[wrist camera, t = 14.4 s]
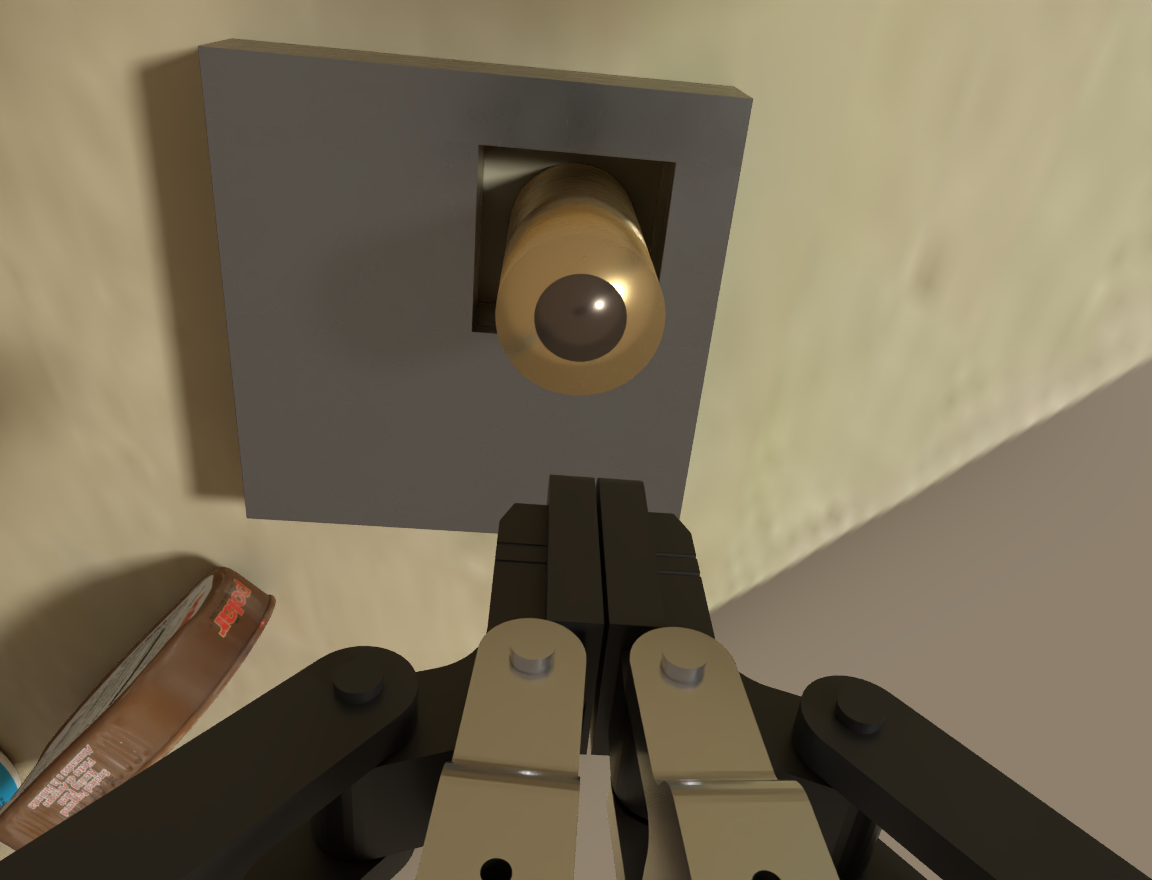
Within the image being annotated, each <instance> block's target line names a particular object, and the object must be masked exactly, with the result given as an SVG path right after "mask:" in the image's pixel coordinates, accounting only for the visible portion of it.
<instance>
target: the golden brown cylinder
mask: <svg viewBox="0 0 1152 880" xmlns="http://www.w3.org/2000/svg"><path fill="white" fill-rule="evenodd" d="M665 316H666V313H665V302H664V297H663V293H662V290H661V287H660V284H659V281H658V278H657V275H656V272H655V269H654V267H653V264H652V261H651V258H650V255H649V252H648V249H647V246H646V243H645V240H644V237H643V234H642V231H641V229H640V226H639V223H638V220H637V217H636V214H635V211H634V208H633V205H632V202H631V200H630V198H629V196H628V194H627V193H626V191H625V190H624V188H623V187H622V186H621V185H620V183H619V182H618V181H617V180H616V179H614V178H613V177H612V176H611V175H609V174H608V173H606V172H605V171H603V170H601V169H599V168H596V167H593V166H590V165H586V164H580V163H567V164H560V165H556V166H553V167H550V168H548V169H546V170H544V171H542V172H540V173H538V174H537V175H536V176H534V177H533V178H532V179H531V180H530V181H529V182H528V183H527V184H526V185H525V186H524V187H523V189H522V190H521V191H520V193H519V195H518V197H517V198H516V201H515V203H514V206H513V209H512V213H511V218H510V224H509V230H508V236H507V242H506V248H505V254H504V260H503V266H502V272H501V278H500V284H499V290H498V296H497V303H496V311H495V320H496V329H497V334H498V337H499V341H500V344H501V346H502V348H503V350H504V352H505V354H506V356H507V357H508V359H509V360H510V362H511V363H512V364H513V365H514V367H515V368H516V369H517V370H518V371H519V372H520V373H521V374H522V375H523V376H524V377H526V378H527V379H529V380H530V381H531V382H533V383H535V384H537V385H538V386H540V387H542V388H545V389H547V390H550V391H552V392H556V393H560V394H565V395H573V396H585V395H594V394H599V393H603V392H606V391H609V390H612V389H615V388H617V387H619V386H621V385H623V384H625V383H626V382H628V381H629V380H631V379H632V378H634V377H635V376H636V375H637V374H638V373H639V372H641V371H642V369H643V368H644V367H645V366H646V365H647V364H648V363H649V361H650V360H651V358H652V357H653V356H654V354H655V352H656V350H657V348H658V346H659V344H660V341H661V338H662V336H663V331H664V327H665Z"/></svg>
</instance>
